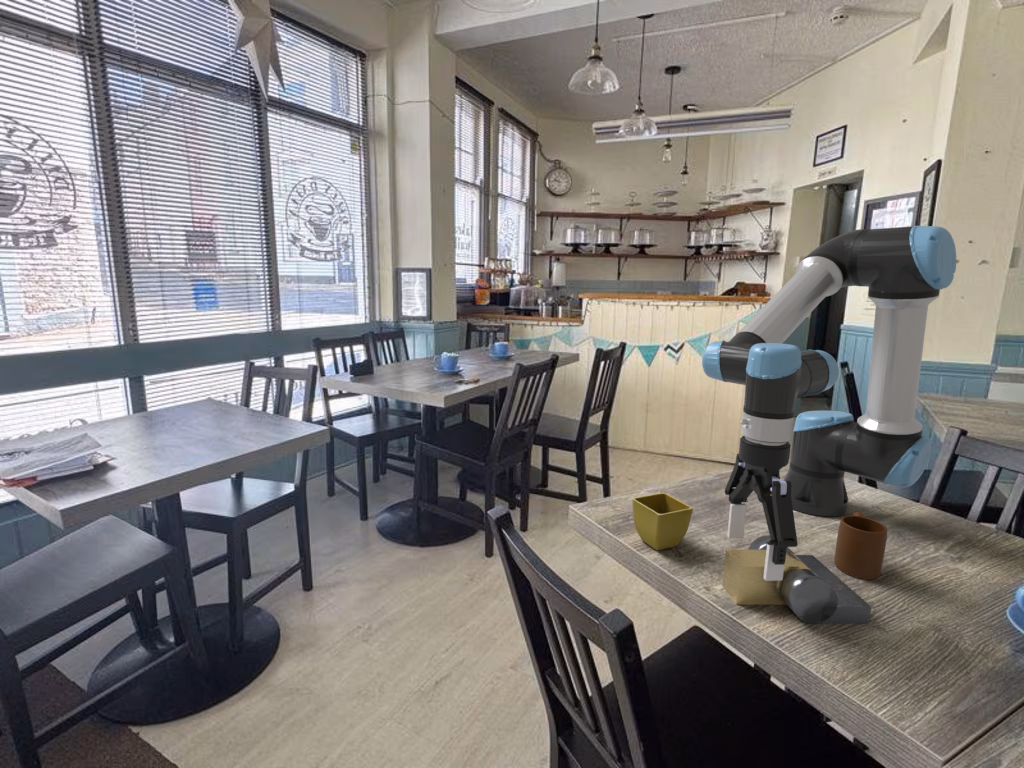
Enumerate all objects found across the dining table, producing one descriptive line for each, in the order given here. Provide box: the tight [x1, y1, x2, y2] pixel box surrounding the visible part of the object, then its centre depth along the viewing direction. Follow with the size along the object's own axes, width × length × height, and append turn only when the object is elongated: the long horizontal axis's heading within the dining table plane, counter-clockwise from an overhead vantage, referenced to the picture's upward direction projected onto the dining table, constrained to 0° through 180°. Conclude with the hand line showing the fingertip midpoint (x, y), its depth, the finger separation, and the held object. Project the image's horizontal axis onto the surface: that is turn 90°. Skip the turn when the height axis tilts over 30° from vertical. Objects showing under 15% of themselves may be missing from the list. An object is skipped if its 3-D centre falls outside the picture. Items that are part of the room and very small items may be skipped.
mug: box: [833, 511, 888, 580], centre depth 103 cm, size 12×8×9 cm, turn 154°
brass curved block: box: [722, 549, 810, 606], centre depth 92 cm, size 14×6×7 cm, turn 92°
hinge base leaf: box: [747, 534, 872, 625], centre depth 93 cm, size 12×16×7 cm
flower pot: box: [631, 492, 694, 551], centre depth 109 cm, size 9×9×9 cm
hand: (752, 557), depth 92 cm, fingers open, 13 cm apart
